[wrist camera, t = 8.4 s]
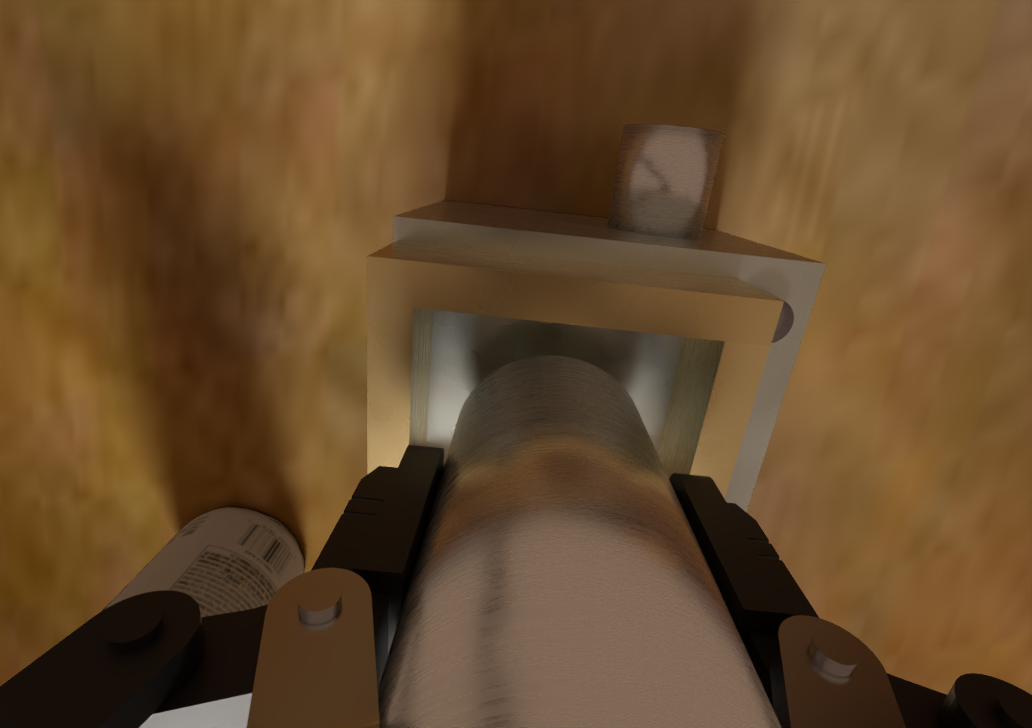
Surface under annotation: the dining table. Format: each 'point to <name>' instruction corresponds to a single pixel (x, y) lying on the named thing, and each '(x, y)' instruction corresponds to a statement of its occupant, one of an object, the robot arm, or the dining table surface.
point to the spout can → (562, 575)
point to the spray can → (223, 562)
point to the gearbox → (594, 311)
